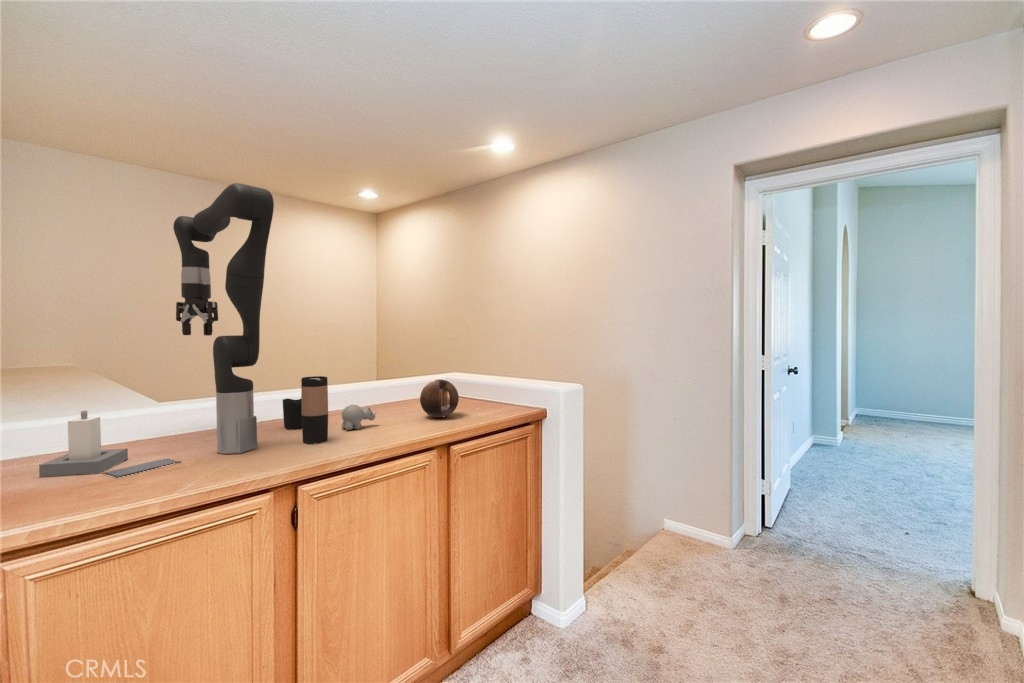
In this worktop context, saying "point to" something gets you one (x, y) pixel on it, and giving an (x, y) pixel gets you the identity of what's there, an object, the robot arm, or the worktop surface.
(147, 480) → the worktop surface
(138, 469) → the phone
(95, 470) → the block
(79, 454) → the white block with peg
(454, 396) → the wooden sphere
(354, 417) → the toy rhinoceros
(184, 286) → the robot arm
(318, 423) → the travel mug
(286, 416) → the pen holder
